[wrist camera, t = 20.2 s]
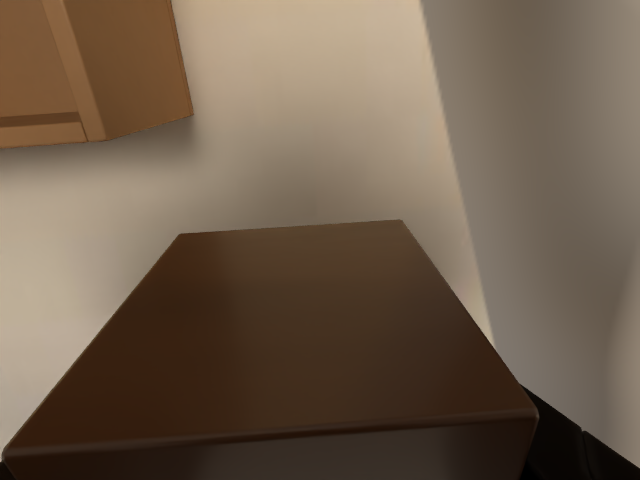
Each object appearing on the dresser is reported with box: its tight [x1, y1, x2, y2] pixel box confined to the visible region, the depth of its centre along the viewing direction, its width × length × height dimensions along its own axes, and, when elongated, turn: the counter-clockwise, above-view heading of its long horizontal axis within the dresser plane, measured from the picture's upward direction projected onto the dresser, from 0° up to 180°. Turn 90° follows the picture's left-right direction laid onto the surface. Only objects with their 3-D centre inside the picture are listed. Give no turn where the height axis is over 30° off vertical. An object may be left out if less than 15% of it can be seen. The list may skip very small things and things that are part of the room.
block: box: [2, 220, 539, 480], centre depth 6 cm, size 5×5×5 cm
